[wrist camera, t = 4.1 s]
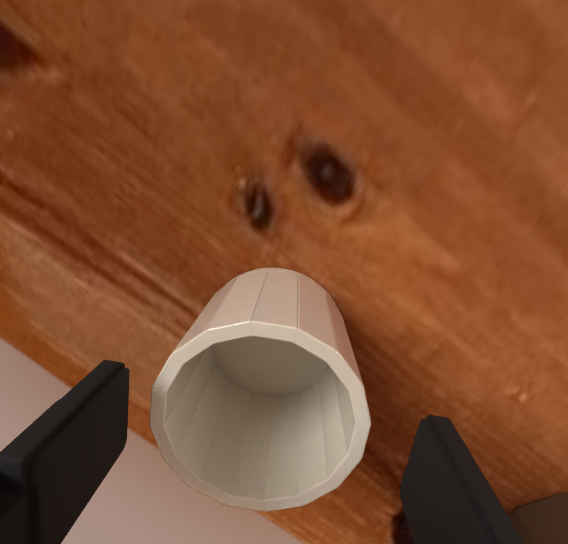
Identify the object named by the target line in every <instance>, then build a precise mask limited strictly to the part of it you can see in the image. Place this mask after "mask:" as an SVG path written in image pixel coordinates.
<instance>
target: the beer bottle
mask: <svg viewBox="0 0 568 544" xmlns="http://www.w3.org/2000/svg"><path fill="white" fill-rule="evenodd" d="M509 518H510V520H511V521H512V523H513V525H514V526H515V528H516V530H517V531H518V533H519V535H520V536H521V538H522V540H523V541H524V543H525V544H568V493H566V492H565V493H561V494H558V495H555V496H552V497H549V498H546V499H543V500H540V501H537V502H533V503H530V504H527V505H524V506H521V507H518V508H515V510H514V511H513V513H512V514H511V516H510V517H509Z"/></svg>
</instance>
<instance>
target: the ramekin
mask: <svg viewBox="0 0 568 544" xmlns="http://www.w3.org/2000/svg"><path fill="white" fill-rule="evenodd" d="M150 427H151V430H152V432H153V435H154V437H155V440H156V442H157V445H158V447H159V450H160V452H161V455H162V457H163V459H164V460H165V462H166V463H167V464H168V465H169V466H170V467H171V468H172V469H173V470H174V471H175V472H176V473H177V474H178V475H179V476H180V477H181V479H182V480H183V481H185V483H186V484H187V485H188V486H190V487H191V488H192V489H194V490H196V491H198V492H200V493H202V494H204V495H206V496H208V497H210V498H212V499H214V500H216V501H218V502H220V503H222V504H224V505H225V504H226V505H227V506H233V507H239V508H245V509H251V510H257V511H265V512H268V511H274V510H281V509H287V508H294V507H300V506H304V505H306V504H308V503H310V502H312V501H314V500H316V499H318V498H320V497H321V496H323V495H325V494H327V493H329V492H331V491H333V490H335V489H336V488H337V487H339V486H340V485H341V484H342V482H343V481H344V480H345V479H346V478H347V476H348V475H349V474H350V473H351V472H352V470H353V469H354V468H355V467H356V466H357V464H358V463H359V462H360V461H361V459H362V457H363V453H364V449H365V446H366V442H367V438H368V434H369V430H370V427H371V418H370V413H369V408H368V404H367V399H366V394H365V389H364V385H363V382H362V379H361V375H360V372H359V369H358V366H357V363H356V359H355V356H354V353H353V350H352V346H351V343H350V340H349V337H348V334H347V330H346V327H345V324H344V321H343V317H342V314H341V312H340V311H339V309H338V307H337V305H336V303H335V302H334V300H333V299H332V297H331V296H330V295H329V294H328V292H327V291H326V290H325V289H324V288H323V287H322V286H320V285H319V284H318V283H317V282H315V281H314V280H312V279H311V278H309V277H307V276H305V275H303V274H301V273H298V272H295V271H292V270H287V269H281V268H262V269H256V270H252V271H249V272H246V273H243V274H241V275H239V276H237V277H235V278H234V279H232V280H230V281H229V282H228V283H227V284H225V285H224V286H223V287H222V288H221V289H220V290H219V291H218V292H216V294H215V295H214V296H213V297H212V299H211V300H210V301H209V303H208V304H207V306H206V307H205V308H204V310H203V311H202V312H201V314H200V315H199V317H198V318H197V319H196V321H195V322H194V323H193V325H192V326H191V327H190V329H189V330H188V332H187V333H186V334H185V336H184V337H183V338H182V340H181V341H180V343H179V344H178V345H177V347H176V348H175V349H174V351H173V352H172V354H171V355H170V357H169V358H168V360H167V362H166V363H165V365H164V367H163V369H162V370H161V372H160V374H159V376H158V377H157V379H156V381H155V383H154V384H153V387H152V393H151V410H150Z"/></svg>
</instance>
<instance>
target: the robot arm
mask: <svg viewBox="0 0 568 544" xmlns="http://www.w3.org/2000/svg"><path fill="white" fill-rule="evenodd" d="M128 397H129V369H128V368H125V365H124V363H121V362H115V361H109V360H104V361H102V362H101V363H100V364H99V365H98V366H97V367H96V368H95V369H93V370H92V371H91V372H90V373H89V374H88V375H87V376H86V377H85V378H83V379H82V380H81V381H80V382H79V383H78V384H77V385H76V386H75V387H74V388H72V389H71V390H70V391H69V392H68V393H67V394H66V395H65V396H64V397H63V398H62V399H60V400H58V401H57V402H55V403H54V404H53V405H52V406H51V407H50V408H49V409H48V410H46V411H45V412H44V413H43V414H42V415H41V416H40V417H39V418H38V419H37V420H35V421H34V422H33V423H32V424H31V425H30V426H29V427H28V428H27V429H25V430H24V431H23V432H22V433H21V434H20V435H19V436H18V437H16V438H15V439H14V440H13V441H12V442H11V443H10V444H9V445H8V446H6V448H4V449H3V450H2V451H1V452H0V544H61V542H62V541H63V539H64V538H65V536H66V535H67V533H68V532H69V530H70V529H71V527H72V526H73V524H74V523H75V521H76V520H77V518H78V517H79V515H80V514H81V512H82V511H83V509H84V508H85V506H86V505H87V503H88V502H89V500H90V499H91V497H92V496H93V494H94V493H95V491H96V490H97V488H98V487H99V485H100V484H101V482H102V481H103V479H104V478H105V476H106V475H107V473H108V472H109V470H110V469H111V467H112V466H113V464H114V463H115V461H116V460H117V458H118V457H119V455H120V454H121V452H122V451H123V449H124V447H125V444H126V440H127V423H128ZM400 498H401V502H402V505H403V508H404V511H405V515H406V518H407V521H408V525H409V528H410V531H411V535H412V538H413V541H414V544H525V543H524V541H523V540H522V538H521V536H520V535H519V533H518V531H517V530H516V528H515V526H514V525H513V523H512V521H511V520H510V518H509V516H508V515H507V513H506V512H505V510H504V508H503V507H502V505H501V503H500V502H499V500H498V498H497V497H496V495H495V493H494V492H493V490H492V488H491V487H490V485H489V483H488V482H487V480H486V478H485V477H484V475H483V473H482V472H481V470H480V469H479V467H478V465H477V464H476V462H475V460H474V459H473V457H472V455H471V454H470V452H469V450H468V449H467V447H466V445H465V444H464V442H463V440H462V439H461V437H460V435H459V434H458V432H457V430H456V429H455V427H454V426H453V424H452V422H451V421H450V419H449V418H446V417H440V416H434V415H428V416H427V417H426V419H421V421H420V424H419V427H418V430H417V433H416V437H415V440H414V443H413V446H412V450H411V453H410V456H409V459H408V463H407V466H406V469H405V472H404V475H403V479H402V482H401V486H400Z"/></svg>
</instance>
